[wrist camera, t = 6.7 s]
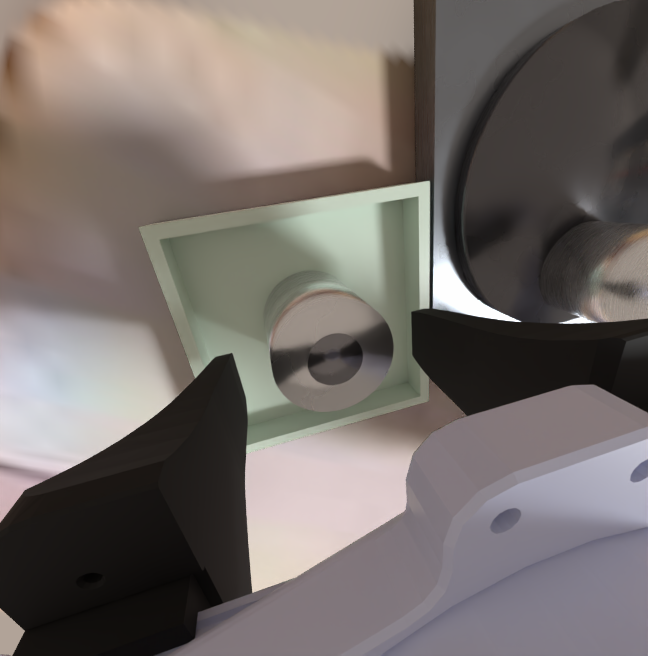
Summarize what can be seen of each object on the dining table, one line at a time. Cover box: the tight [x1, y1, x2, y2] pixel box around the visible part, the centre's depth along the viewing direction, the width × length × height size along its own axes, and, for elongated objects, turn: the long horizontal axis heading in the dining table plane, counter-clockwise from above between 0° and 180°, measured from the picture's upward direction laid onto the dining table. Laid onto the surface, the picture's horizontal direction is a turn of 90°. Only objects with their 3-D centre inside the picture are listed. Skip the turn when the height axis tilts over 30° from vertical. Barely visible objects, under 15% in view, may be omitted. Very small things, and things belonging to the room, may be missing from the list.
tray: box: [138, 181, 430, 454], centre depth 14 cm, size 11×11×2 cm
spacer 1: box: [264, 270, 394, 412], centre depth 13 cm, size 4×4×5 cm
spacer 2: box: [540, 221, 648, 323], centre depth 13 cm, size 4×4×5 cm
